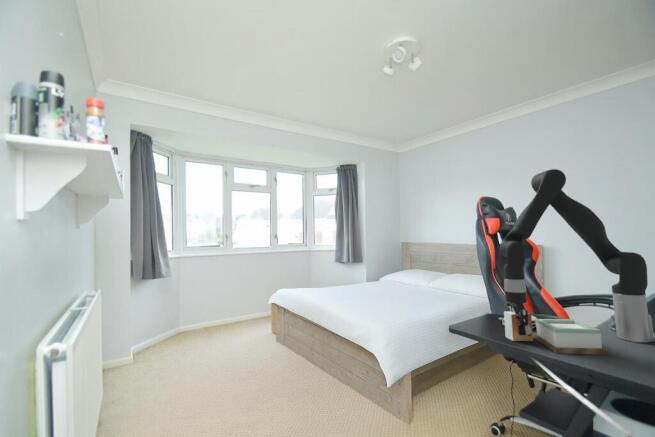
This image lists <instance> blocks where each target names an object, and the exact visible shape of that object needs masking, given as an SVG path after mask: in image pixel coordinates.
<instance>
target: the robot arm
mask: <svg viewBox="0 0 655 437" xmlns="http://www.w3.org/2000/svg"><path fill="white" fill-rule="evenodd" d="M566 182H567V178H566V174H565V173H564V172H563V171H562V170H561V169H557V168H552V169H548V170H545V171H542V172H540V173H538V174H535V175H534V176H533V177H532V178H531V182H530V185H531V188H532V189H533V191H534V192H535V195H534V197H533V199H531V201H530V202H529V203H528V205H527V206H526V207H525V208H524V209H523V210H522V212H521V213H520V214H519V216H518V217H517V218H516V220H515V223H514V224H513V226H512V228H511V230H510V231H509V232H508V233H507V235H505V237H504V238H503V239H502V241H501V242H500V245H499V253H500V254H501V256H503V257H505V258H506V264H504V266H503V277H504V280H503V281H504V282H503V287H504V300H505V302H506V308H507V311H511V312H514V314H519V316H520V317H518V316H516V319H517V321H518V330H519V335H526V331H525V326H526V325H528V313H529V311H528V310H527V309H525V308H524V305H523V304H527V303H528V297H527V295H528V294H527V285H526V281H525V280H526V279H525V271H524V268H525V267H524V266H525V263H526V257H527V256H526V254H527V250H526V247H525V245H524V244H523V243H524V241H525V240H527V239H529V238H530V237H531V236H532V234H533V233H534V231H535V229H536V227H537V225H538V223H539V221H540V220H541V219H542V216H543V215H544V213H545V212H546V211H547V209H548V207H549V206H551V207H552V208H553V209H554V210H555V211H556V212H557V214H558V215H559V216H560V217H561V218H562V219H563V220H564V221H565V223H567V224H568V226H569V228H571V229H572V230H573V231H574V232H575V234H577V236H579V237H580V239H582V240H583V241H584V243H585V244H586V246H588V247H589V248H590V249H591V251H593V253H594V254H595V256H596V257H597V259H598V260H599V261H600V263H601V264H602V265H603V266H604V268H605V269H606V270H607V271H608V272H610V273H612V274H614V275H619V276H618V277H619V278H618V279H619V280H618V282H617V283H615V284H612V286H611V292H612V304H613V311H614V312H613V313H614V320H615V323H614V324H615V332H616V337H617V338H619V339H621V340H624V341H628V342H634V343H650V342H655V337H654V336H655V335H654V330H653V326H654V325H653V319H652V315H651V314H649V311H648V305H647V303H648V302H647V295H646V290H647V288H648V284H649V283H648V267H647V262H646V260H645V258H644V256H642V255H641V254H640V253H637V252H630V251H621V250H620V249H618V248H617V247H616V246H615V245H614V244H613V242H611V240H610V239H609V238H608V235H607V231H606V227H605V224H604V222H603V221H602V220H601V219H600V218H599V217H598V216H597V214H596V213H595V212H594V211H592V209H590V208H589V207H588V206H586V205H584V204H582V203H581V202H579V201H577V200H575V199H573V198H572V197H570V196H569V195H567V193H566V192H564V191H563V188H564V187H565V185H566V184H567V183H566ZM519 319H520V320H519ZM522 320H523V322H522Z"/></svg>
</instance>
